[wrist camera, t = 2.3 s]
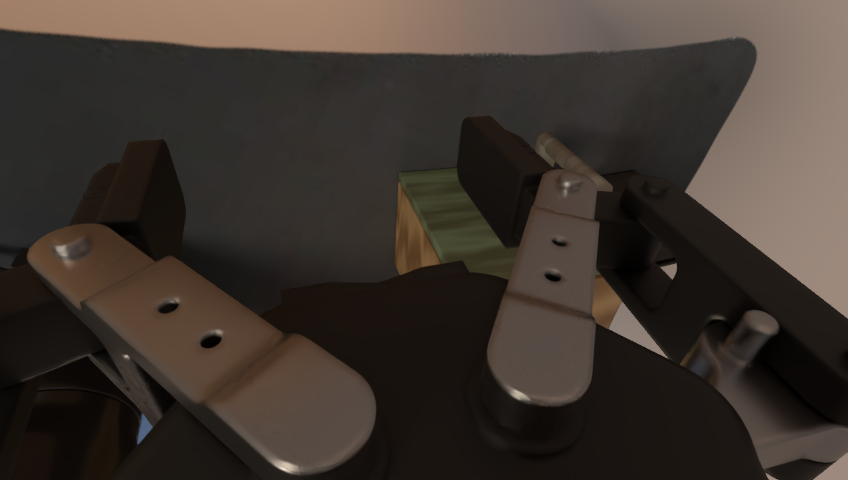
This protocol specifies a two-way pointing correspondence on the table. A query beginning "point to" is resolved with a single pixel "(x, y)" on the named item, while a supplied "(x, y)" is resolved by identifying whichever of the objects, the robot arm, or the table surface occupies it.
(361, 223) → the table surface
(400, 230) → the cupboard
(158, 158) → the robot arm
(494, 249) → the door
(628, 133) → the table surface
